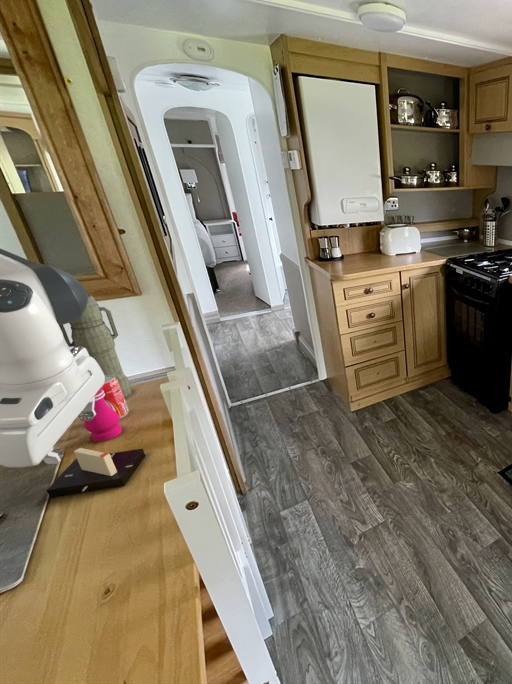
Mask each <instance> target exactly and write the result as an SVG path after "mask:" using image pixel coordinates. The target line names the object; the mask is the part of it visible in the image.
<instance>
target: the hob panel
mask: <svg viewBox="0 0 512 684" xmlns="http://www.w3.org/2000/svg"><path fill="white" fill-rule="evenodd" d="M108 454H110V456H111V458H112V461H113V463H114V466H115V468H116V470H117V473H115V474H114V475H112V476H108V475H104V474H99V473H95V472H90V471H86V470H82V469H81V467H80V464H79V462H78V460H77V458H75V459H74V460H73V461H72V462H71V463H70V464H69V465H68V466H67V467H66V469H65V470H63V472H62V473H61V474H60V475H59V476H58V477H57V478H56V479H55V480H54V482H52V483H51V485H50V486H48V487H47V488H46V493H47V494H48V497H49V498H50V499H56V498H62V497H67V496H72V495H79V494H85V493H92V492H97V491H102V490H108V489H114V488H115V489H116V488H121V487H125V486H126V485H127V483H128V482H129V480H130V479H131V478H132V476H133V475H134V473H136V470H137V469H138V468H139V467H140V465H141V463H142V462H143V460H144V459H145V458H146V454H145V451H144V449H143V448H137V449H130V450H124V451H116V452H108Z"/></svg>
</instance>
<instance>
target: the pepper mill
mask: <svg viewBox="0 0 512 684" xmlns="http://www.w3.org/2000/svg"><path fill="white" fill-rule="evenodd" d="M102 388H103V386H102V387H101V388H100V389H99V391H98V392H97V393H96V394H95V396H94V397H95V403H94V410H95V413H96V415H95V416H94V418H93V419H92V420H91V421H83V426H84V428H85V430H86V431H87V432H89V433H90V437H91V439H92V441H94V442H104V441H109V440H111V439H114V438H115V437H117V436H119V435H121V433H122V431H123V429H122V426H121V424H120V421H121V419H120V417H119V415H118V414H117V412H116V411H114V410H113V409H112V408H110V407H109V406H108V405H107V404H106V403H105V400H104V396H105V393H104V391H103V390H102Z"/></svg>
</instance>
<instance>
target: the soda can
mask: <svg viewBox="0 0 512 684" xmlns="http://www.w3.org/2000/svg"><path fill="white" fill-rule="evenodd" d="M102 390H103V391H104V393H105V396H104V400H105V403H106V404H107V405H108V406H109V407H110V408H112V409H113V410H114V411H116V412H117V414H118V415H119V417H120V420H122V419H124V418H125V417H126V416H127V415H128V413H129V411H130V410H129V407H128V405H127V401H126V398H125V399H124V396H123V393H122V391H121V388H120V385H119V383H118V381H117V380H116V379H115V378H114V376H113V375H105V382H104V385H103V388H102Z"/></svg>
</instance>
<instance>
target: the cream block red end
mask: <svg viewBox="0 0 512 684" xmlns="http://www.w3.org/2000/svg"><path fill="white" fill-rule="evenodd" d="M73 453H74V455H75V457H76V458H77V460H78V462H79V464H80V467H81V469H82V470H86V471H90V472H95V473H99V474H104V475H108V476H112V475H114V474H115V473H117V470H116V468H115V466H114V463H113V461H112V458H111V456H110V454H109V452H104V451H103V452H102V451H97V450H94V449H93V450H92V449H89V448H88V449H87V448H83V447H79V448H77V449H75V450H73ZM76 458H75V459H76Z"/></svg>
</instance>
